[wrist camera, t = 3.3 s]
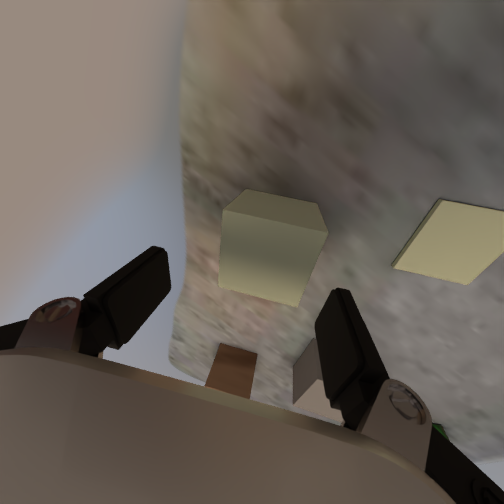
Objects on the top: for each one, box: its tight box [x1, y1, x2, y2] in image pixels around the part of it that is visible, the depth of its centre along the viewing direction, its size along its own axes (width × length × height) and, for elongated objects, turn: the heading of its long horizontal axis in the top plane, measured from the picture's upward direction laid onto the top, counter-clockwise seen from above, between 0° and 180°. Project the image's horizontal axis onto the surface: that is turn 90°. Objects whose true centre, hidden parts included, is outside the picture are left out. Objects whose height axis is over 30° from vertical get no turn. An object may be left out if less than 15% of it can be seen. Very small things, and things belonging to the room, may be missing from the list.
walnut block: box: [205, 343, 257, 399], centre depth 27 cm, size 6×6×6 cm
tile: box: [391, 199, 504, 285], centre depth 14 cm, size 6×6×1 cm
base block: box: [293, 338, 343, 422], centre depth 23 cm, size 8×8×5 cm
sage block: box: [218, 189, 329, 307], centre depth 14 cm, size 6×6×6 cm
